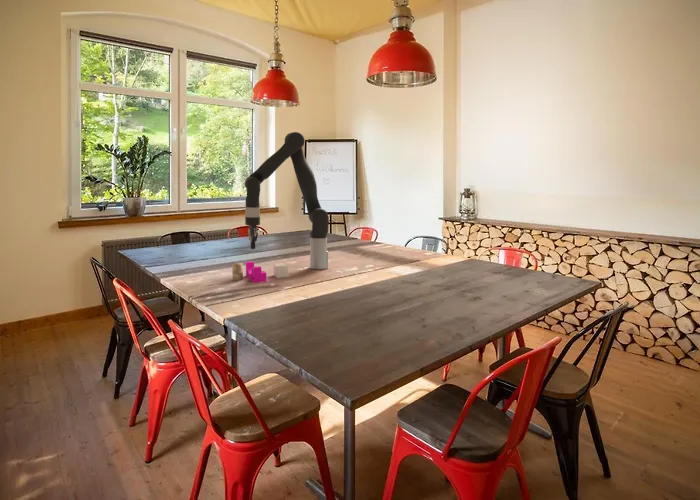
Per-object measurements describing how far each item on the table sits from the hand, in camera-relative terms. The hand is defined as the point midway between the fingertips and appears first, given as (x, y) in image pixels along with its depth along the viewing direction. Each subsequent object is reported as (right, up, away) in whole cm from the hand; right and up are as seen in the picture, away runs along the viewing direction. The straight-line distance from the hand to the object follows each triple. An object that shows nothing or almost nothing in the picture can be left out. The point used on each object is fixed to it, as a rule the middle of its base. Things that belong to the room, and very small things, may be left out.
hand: (252, 248), depth 240 cm
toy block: (+4, -15, -11) cm, 19 cm away
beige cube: (+15, -14, -5) cm, 21 cm away
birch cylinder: (-5, -15, -14) cm, 21 cm away
